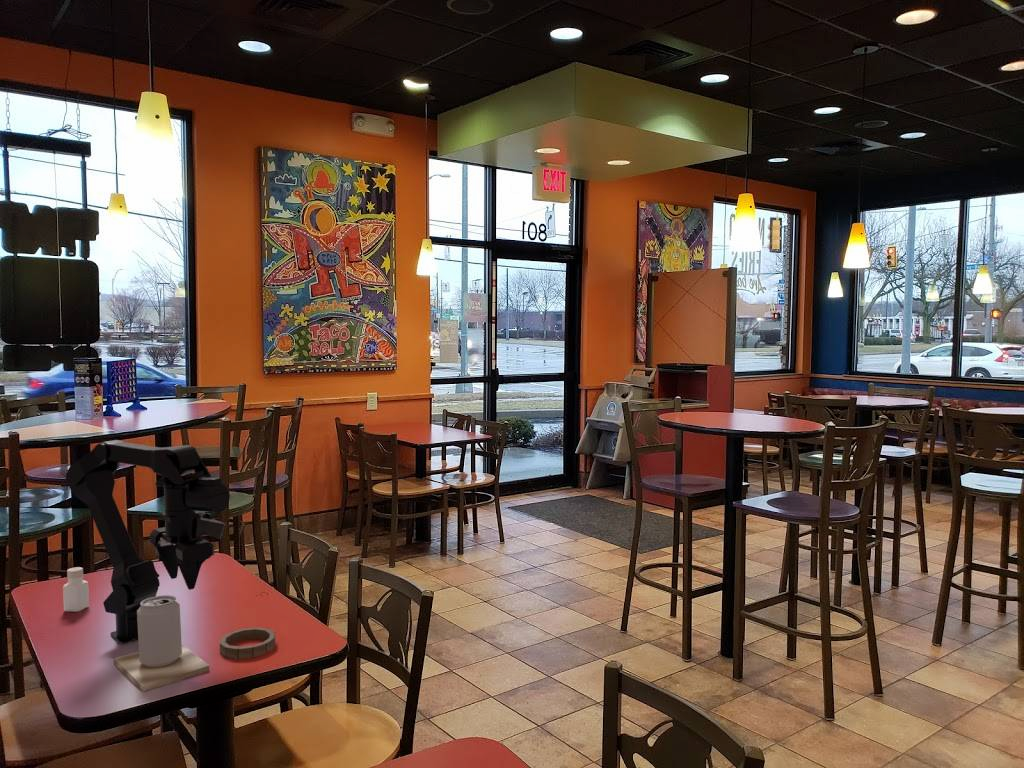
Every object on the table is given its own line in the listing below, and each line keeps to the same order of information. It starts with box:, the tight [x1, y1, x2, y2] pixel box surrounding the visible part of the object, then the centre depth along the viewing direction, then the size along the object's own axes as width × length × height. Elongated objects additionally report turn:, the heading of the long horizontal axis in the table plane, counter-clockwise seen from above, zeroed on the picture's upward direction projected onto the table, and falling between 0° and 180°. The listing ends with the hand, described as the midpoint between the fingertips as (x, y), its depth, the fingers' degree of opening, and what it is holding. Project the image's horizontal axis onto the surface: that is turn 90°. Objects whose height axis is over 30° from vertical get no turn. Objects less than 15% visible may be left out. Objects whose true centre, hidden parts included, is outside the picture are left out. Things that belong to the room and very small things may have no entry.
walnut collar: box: [219, 627, 276, 660], centre depth 153 cm, size 10×10×2 cm
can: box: [137, 594, 183, 667], centre depth 144 cm, size 8×8×12 cm
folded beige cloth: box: [113, 644, 210, 692], centre depth 144 cm, size 16×12×1 cm
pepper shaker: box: [62, 566, 90, 613], centre depth 174 cm, size 4×4×10 cm
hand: (182, 583), depth 153 cm, fingers open, 9 cm apart
